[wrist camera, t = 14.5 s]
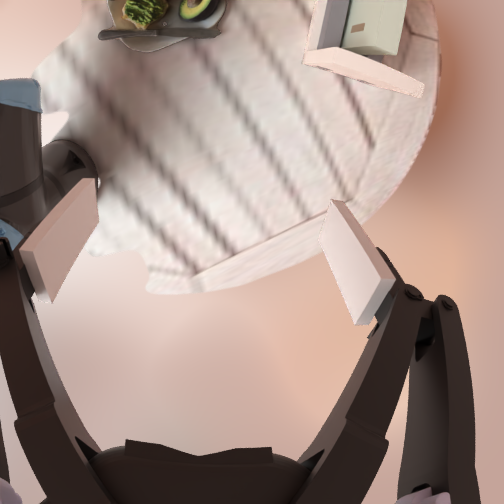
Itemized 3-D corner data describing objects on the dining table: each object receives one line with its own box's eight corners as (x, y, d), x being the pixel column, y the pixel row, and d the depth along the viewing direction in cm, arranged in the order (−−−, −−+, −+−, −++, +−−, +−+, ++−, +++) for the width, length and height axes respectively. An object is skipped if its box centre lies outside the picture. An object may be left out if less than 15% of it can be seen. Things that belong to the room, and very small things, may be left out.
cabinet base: (371, 85, 37) (421, 98, 25) (301, 63, 35) (332, 62, 24) (394, -28, 23) (444, -44, 12) (327, -56, 21) (361, -88, 10)
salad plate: (118, 79, 34) (106, 81, 30) (88, -5, 23) (75, -10, 20) (238, 32, 32) (239, 27, 28) (205, -55, 21) (202, -66, 17)
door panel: (353, -32, 23) (391, -54, 13) (372, -25, 23) (413, -42, 14) (337, 48, 32) (373, 45, 22) (356, 55, 32) (397, 55, 23)
